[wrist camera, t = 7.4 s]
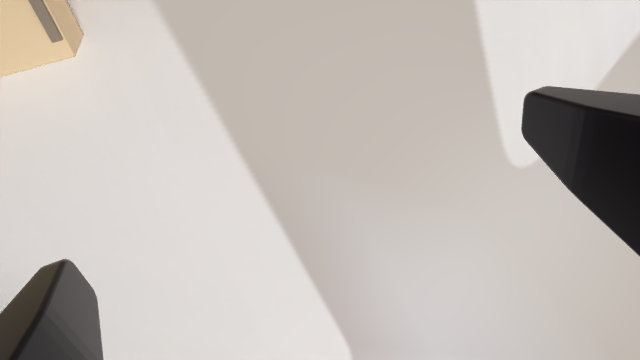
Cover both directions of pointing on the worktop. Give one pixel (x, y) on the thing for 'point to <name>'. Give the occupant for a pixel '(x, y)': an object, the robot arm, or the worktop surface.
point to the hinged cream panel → (36, 34)
